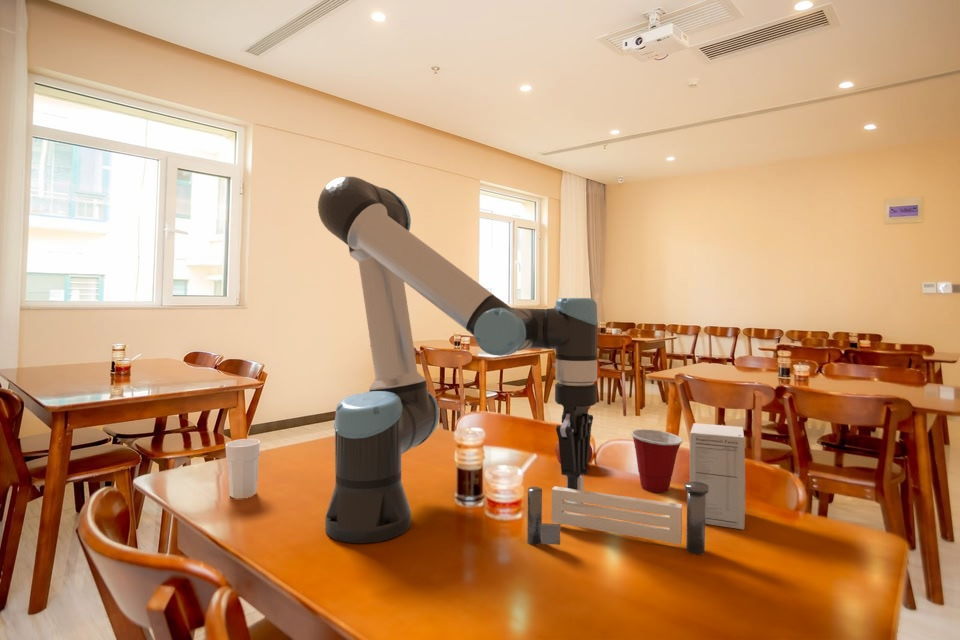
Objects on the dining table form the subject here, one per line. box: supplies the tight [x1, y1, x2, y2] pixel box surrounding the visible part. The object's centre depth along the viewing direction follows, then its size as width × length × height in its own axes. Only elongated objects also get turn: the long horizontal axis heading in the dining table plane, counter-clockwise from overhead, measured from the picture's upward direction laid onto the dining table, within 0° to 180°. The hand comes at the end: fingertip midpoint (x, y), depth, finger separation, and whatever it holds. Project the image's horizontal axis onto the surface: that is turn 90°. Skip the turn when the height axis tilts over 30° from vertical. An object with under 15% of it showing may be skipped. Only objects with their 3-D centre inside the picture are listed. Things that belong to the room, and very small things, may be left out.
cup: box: [225, 438, 261, 499], centre depth 112 cm, size 7×7×11 cm
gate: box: [551, 486, 683, 545], centre depth 93 cm, size 22×2×6 cm, turn 67°
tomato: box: [554, 439, 593, 465], centre depth 133 cm, size 9×9×8 cm
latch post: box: [526, 486, 561, 546], centre depth 89 cm, size 5×4×9 cm
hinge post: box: [684, 481, 709, 556], centre depth 87 cm, size 4×4×11 cm
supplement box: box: [689, 422, 746, 530], centre depth 101 cm, size 10×9×17 cm
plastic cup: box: [630, 428, 684, 494], centre depth 117 cm, size 11×11×12 cm
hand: (574, 509), depth 99 cm, fingers closed
